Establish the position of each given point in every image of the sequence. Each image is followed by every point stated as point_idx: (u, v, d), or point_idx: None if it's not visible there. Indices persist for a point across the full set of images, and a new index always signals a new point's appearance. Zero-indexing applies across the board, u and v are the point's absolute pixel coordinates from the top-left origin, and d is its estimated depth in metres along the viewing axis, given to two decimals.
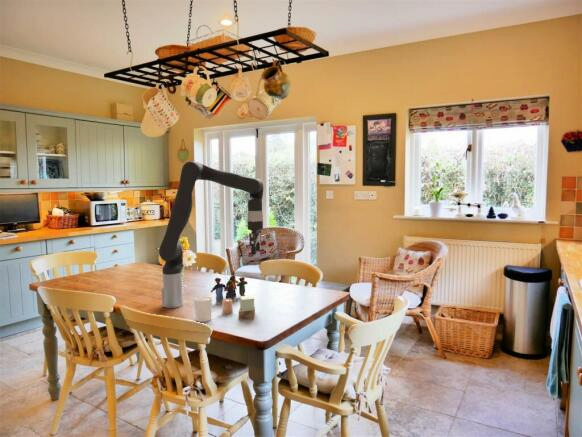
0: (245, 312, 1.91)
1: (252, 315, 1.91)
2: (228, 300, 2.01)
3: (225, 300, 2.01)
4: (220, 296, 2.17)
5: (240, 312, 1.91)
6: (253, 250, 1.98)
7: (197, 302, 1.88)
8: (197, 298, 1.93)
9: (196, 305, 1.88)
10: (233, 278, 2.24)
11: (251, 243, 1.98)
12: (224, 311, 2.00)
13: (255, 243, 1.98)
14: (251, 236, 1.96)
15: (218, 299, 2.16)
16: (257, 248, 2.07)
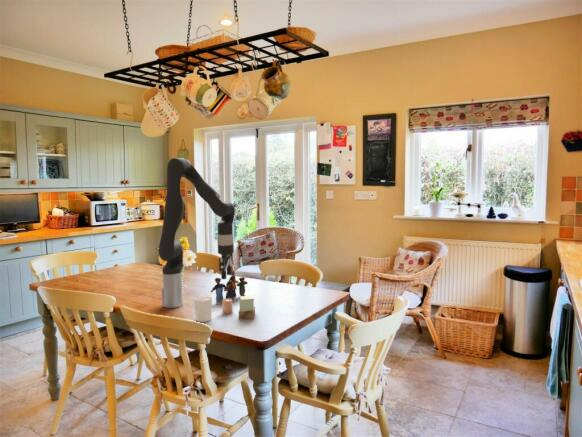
0: (245, 312, 1.91)
1: (252, 315, 1.91)
2: (228, 300, 2.01)
3: (225, 300, 2.01)
4: (220, 296, 2.17)
5: (240, 312, 1.91)
6: (223, 275, 1.95)
7: (197, 302, 1.88)
8: (197, 298, 1.93)
9: (196, 305, 1.88)
10: (233, 278, 2.24)
11: (221, 267, 1.95)
12: (224, 311, 2.00)
13: (225, 267, 1.95)
14: (221, 261, 1.92)
15: (218, 299, 2.16)
16: (228, 272, 2.04)
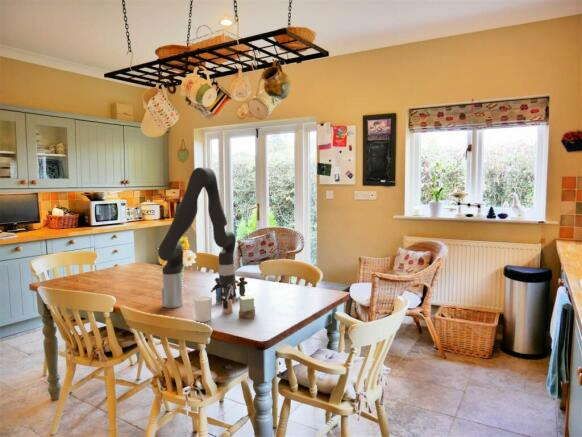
0: (245, 312, 1.91)
1: (252, 315, 1.91)
2: (228, 300, 2.01)
3: None
4: (220, 296, 2.17)
5: (240, 312, 1.91)
6: (225, 304, 1.96)
7: (197, 302, 1.88)
8: (197, 298, 1.93)
9: (196, 305, 1.88)
10: None
11: (223, 297, 1.96)
12: (224, 311, 2.00)
13: (227, 297, 1.96)
14: (222, 291, 1.94)
15: (218, 299, 2.16)
16: None
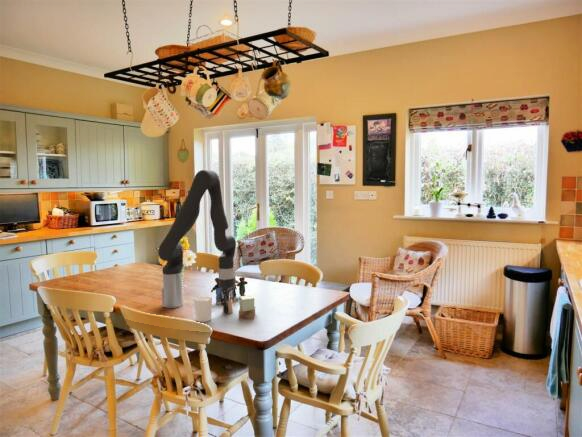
0: (245, 312, 1.91)
1: (252, 315, 1.92)
2: None
3: None
4: None
5: (240, 312, 1.91)
6: (225, 309, 1.98)
7: (197, 302, 1.88)
8: (197, 298, 1.93)
9: (196, 305, 1.88)
10: None
11: (223, 302, 1.98)
12: None
13: (227, 302, 1.98)
14: (222, 297, 1.94)
15: (218, 299, 2.16)
16: None
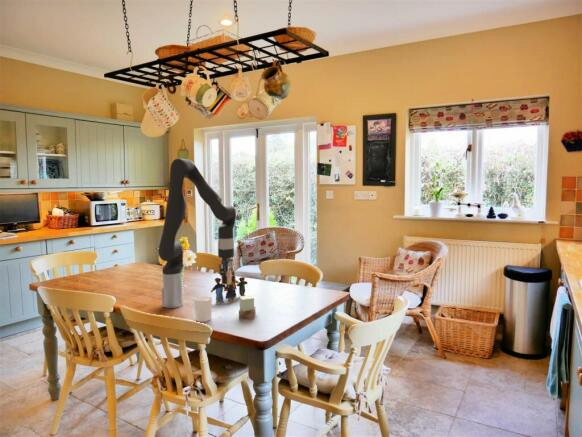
0: (245, 312, 1.91)
1: (252, 315, 1.91)
2: None
3: None
4: (220, 296, 2.17)
5: (240, 312, 1.91)
6: (224, 279, 1.96)
7: (197, 302, 1.88)
8: (197, 298, 1.93)
9: (196, 305, 1.88)
10: (233, 278, 2.24)
11: None
12: None
13: (226, 273, 1.96)
14: (221, 267, 1.93)
15: (218, 299, 2.16)
16: None
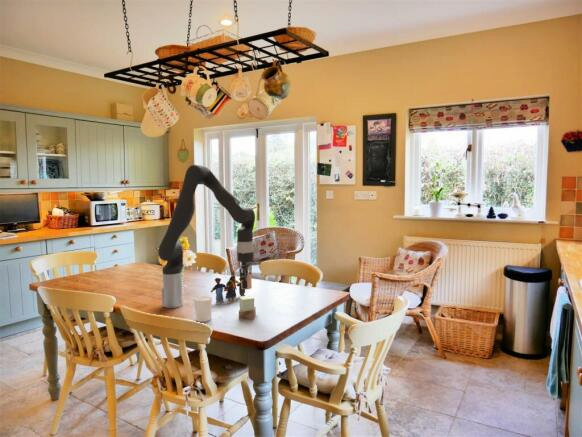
0: (245, 312, 1.91)
1: (252, 315, 1.91)
2: None
3: None
4: (220, 296, 2.17)
5: (240, 312, 1.91)
6: (244, 284, 1.90)
7: (197, 302, 1.88)
8: (197, 298, 1.93)
9: (196, 305, 1.88)
10: (233, 278, 2.24)
11: (242, 277, 1.90)
12: None
13: (246, 277, 1.90)
14: (241, 271, 1.86)
15: (218, 299, 2.16)
16: None
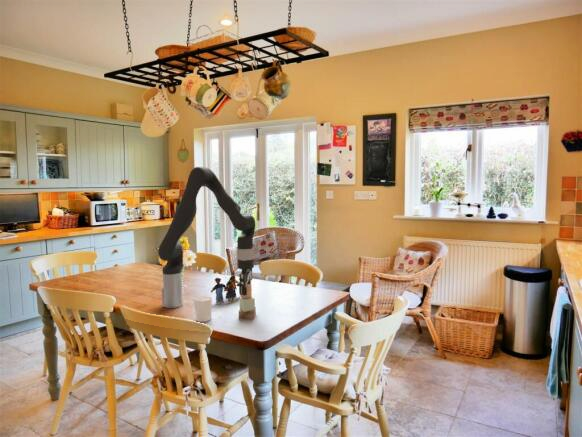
0: (245, 312, 1.91)
1: (252, 315, 1.91)
2: (247, 285, 1.93)
3: None
4: (220, 296, 2.17)
5: (240, 312, 1.91)
6: (244, 291, 1.89)
7: (197, 302, 1.88)
8: (197, 298, 1.93)
9: (196, 305, 1.88)
10: (233, 278, 2.24)
11: (241, 283, 1.89)
12: (243, 296, 1.92)
13: (246, 283, 1.89)
14: (241, 277, 1.86)
15: (218, 299, 2.16)
16: None
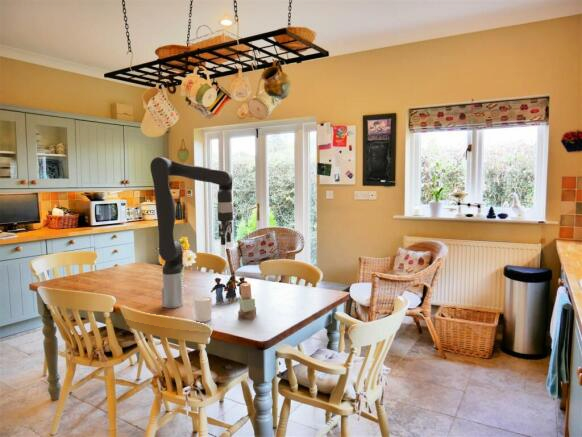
0: (245, 312, 1.91)
1: (251, 316, 1.91)
2: (246, 285, 1.92)
3: (243, 285, 1.92)
4: (220, 296, 2.17)
5: (240, 312, 1.91)
6: (223, 240, 2.03)
7: (197, 302, 1.88)
8: (197, 298, 1.93)
9: (196, 305, 1.88)
10: (233, 278, 2.24)
11: None
12: (243, 296, 1.91)
13: (225, 234, 2.03)
14: (220, 227, 2.01)
15: (218, 299, 2.16)
16: (228, 239, 2.12)
